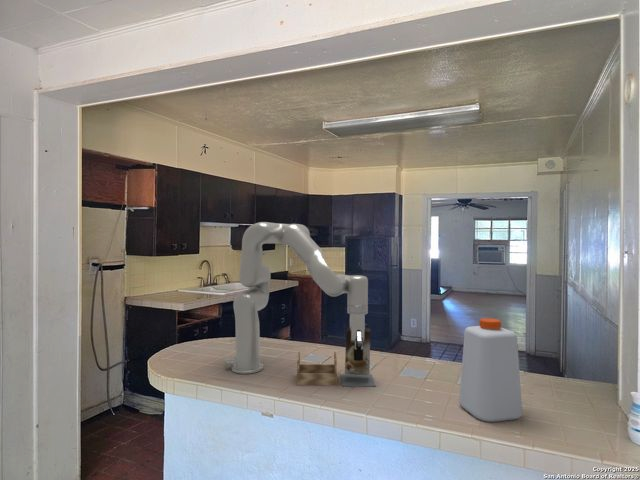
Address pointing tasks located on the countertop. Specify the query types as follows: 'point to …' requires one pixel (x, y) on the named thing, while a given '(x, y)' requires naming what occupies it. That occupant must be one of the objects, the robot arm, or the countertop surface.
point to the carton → (316, 373)
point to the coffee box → (350, 363)
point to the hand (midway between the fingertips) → (357, 356)
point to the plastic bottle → (490, 372)
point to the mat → (357, 380)
